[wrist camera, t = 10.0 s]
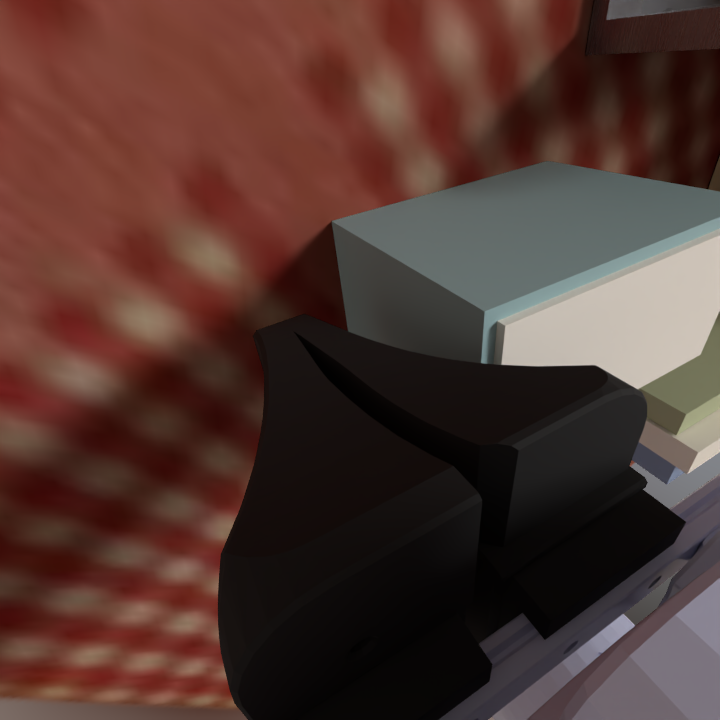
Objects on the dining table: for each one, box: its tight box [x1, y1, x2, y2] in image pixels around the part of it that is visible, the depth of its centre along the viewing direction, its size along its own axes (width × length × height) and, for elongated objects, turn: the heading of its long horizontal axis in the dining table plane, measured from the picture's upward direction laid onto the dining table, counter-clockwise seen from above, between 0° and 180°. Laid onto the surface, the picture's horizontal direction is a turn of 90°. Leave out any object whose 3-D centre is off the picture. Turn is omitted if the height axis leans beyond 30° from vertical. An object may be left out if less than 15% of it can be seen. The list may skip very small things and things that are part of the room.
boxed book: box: [332, 161, 720, 389], centre depth 12 cm, size 4×8×6 cm, turn 97°
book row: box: [632, 311, 720, 484], centre depth 19 cm, size 3×9×7 cm, turn 97°
